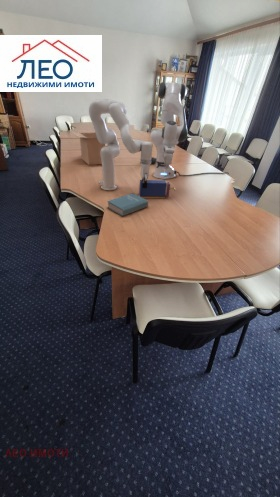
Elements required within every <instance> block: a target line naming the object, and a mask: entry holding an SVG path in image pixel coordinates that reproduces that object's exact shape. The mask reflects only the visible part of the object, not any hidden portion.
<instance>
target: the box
mask: <svg viewBox="0 0 280 497" xmlns="http://www.w3.org/2000/svg"><path fill="white" fill-rule="evenodd" d="M70 133H71V134H72V135H74V136H75V137H77V138H79V144H80V153H81V160H83V162H85V163H86V165H87V166H95V165H97V166H98V165H102V160H101V155H100V151H101V149H102V148H103V147H105V146H106V144H100V143H99V141H98V139H97V136H96V133H95V130H94V129H93V130H92V129H91V130H77V132H76V131H70Z"/></svg>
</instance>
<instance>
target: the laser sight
mask: <svg viewBox="0 0 280 497" xmlns="http://www.w3.org/2000/svg"><path fill="white" fill-rule="evenodd" d="M156 159H157V157H153V156H152V158H151V164H150V165H155V164H156ZM139 160H140V161H141V158H139Z"/></svg>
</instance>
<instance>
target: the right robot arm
mask: <svg viewBox="0 0 280 497" xmlns="http://www.w3.org/2000/svg"><path fill="white" fill-rule="evenodd" d="M156 93H157V97H158V98H159V99H161V100H163V102H162V105H161V106H162V107H161V114H160V122H161V124H162V125H163V127H162V128H161V129H154V130H152V131H151V132H150V135H149V137H150V138H149V139H150V142H151V143H152V144H153V145H154V147H155V150H156V158H157V159H156V164H154V171H153V175H152V176H153V177H154V178H156V179H162V180H169V179H173V178H177V175H176V174H178V176H179V177H192V176H199V175H209V174H211V175H212V174H213V175H214V174H215V175H216V174H218V175H224V174H227V175H230V173H229V172H227V171H225V172H202V173H194V174H181V173H180V172H179V171H177V170H176V169H174V168H173V167H172V166H171V165H172V164H173V162H172V160H173V157H174V154H175V148H176V146H178V144H179V143H183V142H185V141H186V140H187V138H188V135H189V131H188V127H187V126H188V125H187V119H186V110H185V106H184V105H183V104H182V101H183V100H184V99H185V97H186V96H187V86H186V85H185V84H183V83H179V82H175V81H172V82H165V81H163V82H160V83H159V84H158V87H157V92H156ZM175 116H176V117H177V118H178V120H179V125H178V122H176V121H175Z"/></svg>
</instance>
